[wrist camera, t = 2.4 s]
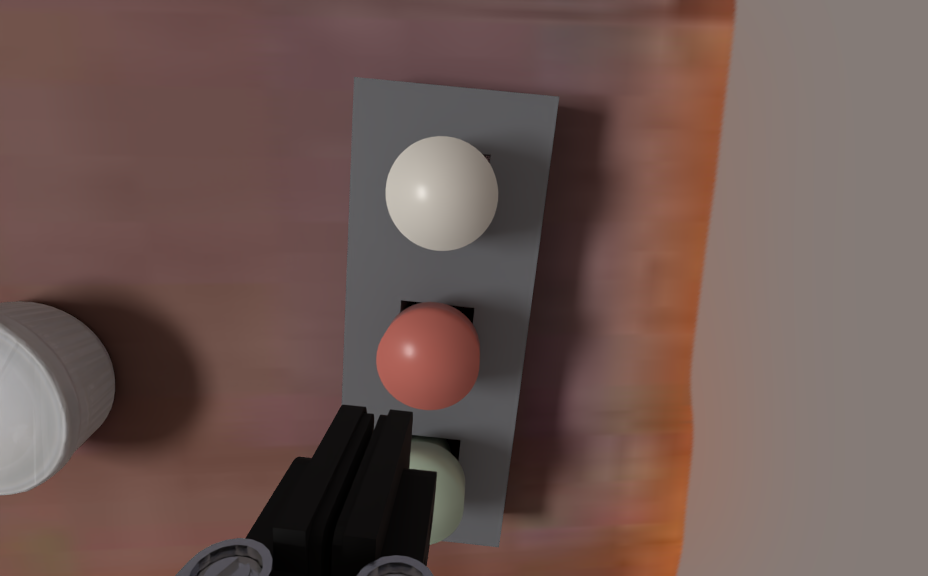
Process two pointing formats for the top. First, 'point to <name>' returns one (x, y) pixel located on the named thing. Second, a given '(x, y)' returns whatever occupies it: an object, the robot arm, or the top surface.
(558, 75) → the top surface
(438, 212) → the button cream
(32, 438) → the ramekin
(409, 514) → the robot arm
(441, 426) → the button panel
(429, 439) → the button sage
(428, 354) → the button red
